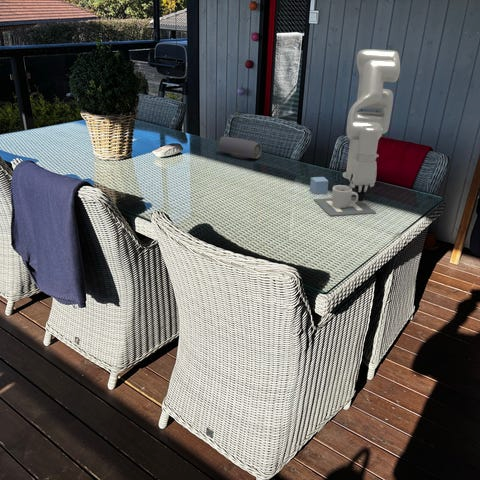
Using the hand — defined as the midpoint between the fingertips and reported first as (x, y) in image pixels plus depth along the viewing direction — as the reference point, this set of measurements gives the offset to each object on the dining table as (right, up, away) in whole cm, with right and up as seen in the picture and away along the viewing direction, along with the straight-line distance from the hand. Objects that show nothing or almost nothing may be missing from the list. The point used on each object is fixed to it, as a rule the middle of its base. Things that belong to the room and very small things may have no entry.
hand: (359, 200), depth 202 cm
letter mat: (-7, -3, 0) cm, 7 cm away
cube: (-15, +5, +16) cm, 22 cm away
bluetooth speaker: (-50, +29, +62) cm, 85 cm away
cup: (-7, -3, -1) cm, 8 cm away
